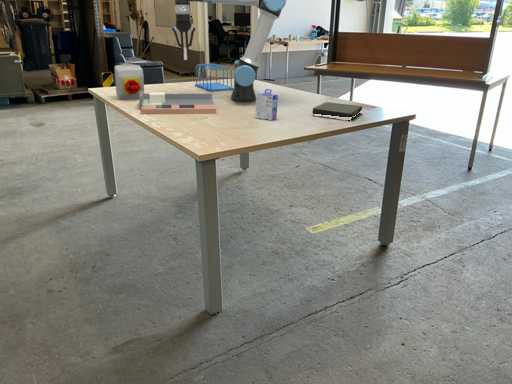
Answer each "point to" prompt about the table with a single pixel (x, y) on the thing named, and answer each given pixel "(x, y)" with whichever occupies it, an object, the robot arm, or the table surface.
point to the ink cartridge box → (266, 105)
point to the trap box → (178, 104)
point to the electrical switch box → (129, 81)
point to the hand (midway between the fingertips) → (185, 59)
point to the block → (157, 97)
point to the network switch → (337, 109)
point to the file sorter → (216, 86)
